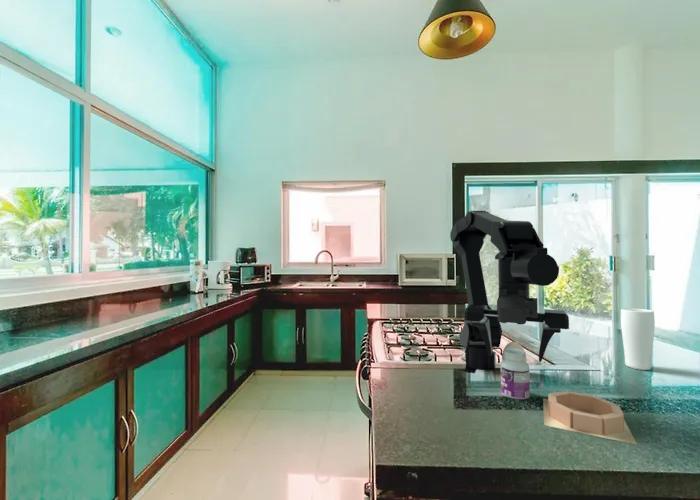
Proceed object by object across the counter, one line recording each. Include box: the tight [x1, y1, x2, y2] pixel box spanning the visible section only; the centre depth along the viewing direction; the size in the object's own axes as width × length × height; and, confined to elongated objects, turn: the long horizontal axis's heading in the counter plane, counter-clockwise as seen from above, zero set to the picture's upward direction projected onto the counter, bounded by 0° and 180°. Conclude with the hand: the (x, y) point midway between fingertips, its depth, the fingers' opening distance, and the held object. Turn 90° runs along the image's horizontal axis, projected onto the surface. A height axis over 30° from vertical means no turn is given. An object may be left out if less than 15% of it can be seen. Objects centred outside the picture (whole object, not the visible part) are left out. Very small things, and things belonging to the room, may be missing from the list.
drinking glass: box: [620, 307, 656, 371], centre depth 88 cm, size 7×7×15 cm
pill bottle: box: [500, 349, 531, 400], centre depth 69 cm, size 5×5×10 cm
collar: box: [547, 390, 625, 435], centre depth 58 cm, size 10×10×2 cm
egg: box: [501, 341, 528, 363], centre depth 83 cm, size 6×6×8 cm
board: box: [542, 398, 638, 446], centre depth 58 cm, size 12×12×1 cm
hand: (514, 357), depth 69 cm, fingers open, 9 cm apart
